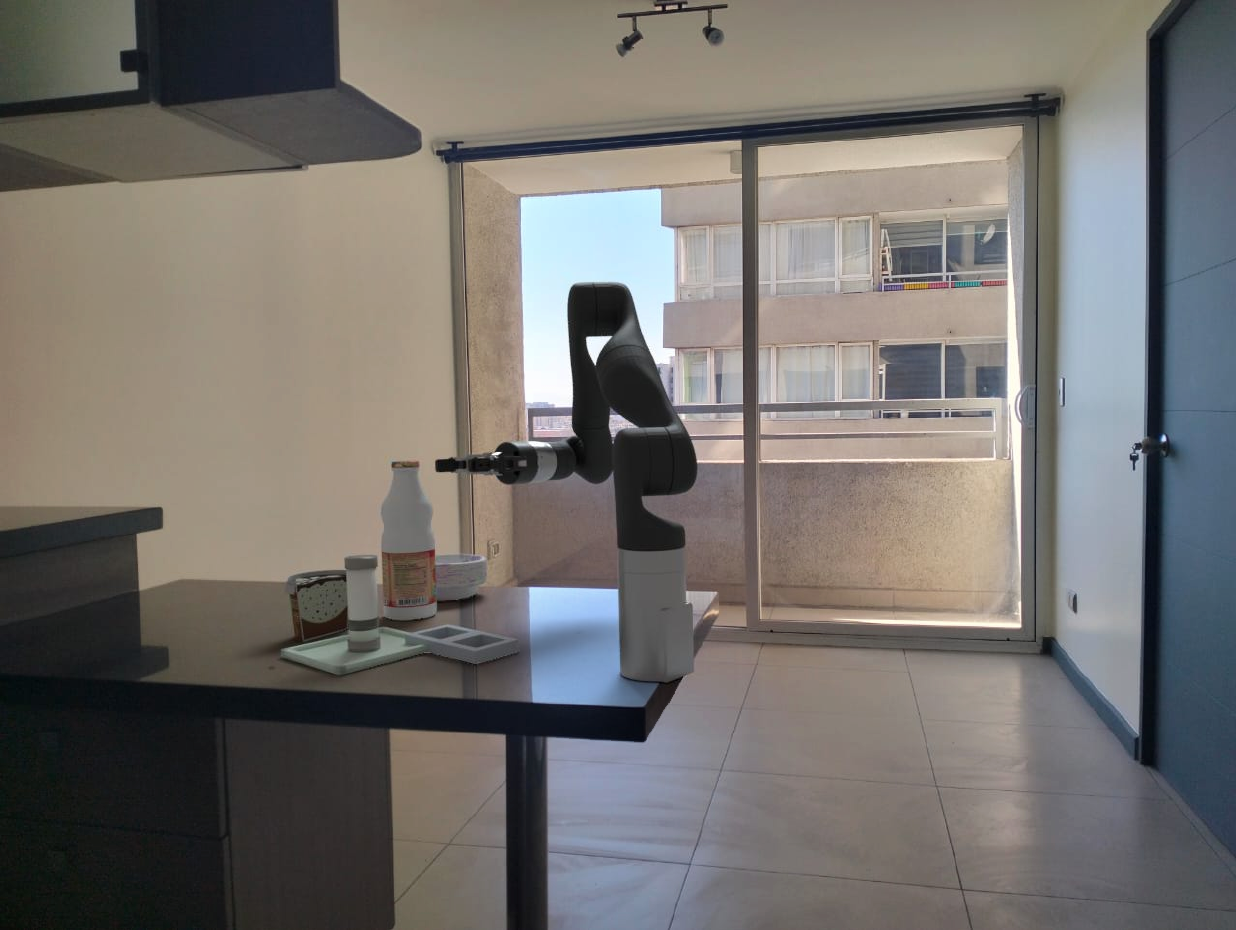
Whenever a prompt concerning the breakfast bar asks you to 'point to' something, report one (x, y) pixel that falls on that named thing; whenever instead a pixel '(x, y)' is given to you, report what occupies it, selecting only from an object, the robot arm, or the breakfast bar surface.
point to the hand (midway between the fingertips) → (452, 465)
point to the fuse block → (463, 643)
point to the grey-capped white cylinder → (362, 603)
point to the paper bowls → (459, 575)
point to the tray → (340, 661)
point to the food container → (318, 603)
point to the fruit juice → (408, 547)
